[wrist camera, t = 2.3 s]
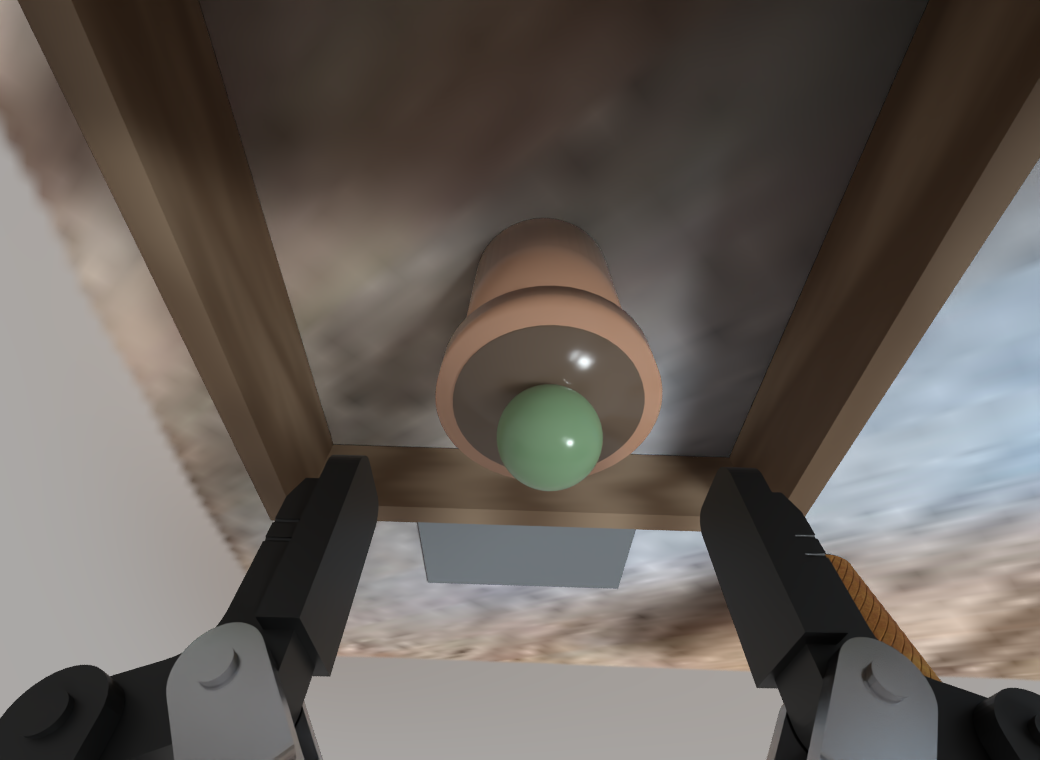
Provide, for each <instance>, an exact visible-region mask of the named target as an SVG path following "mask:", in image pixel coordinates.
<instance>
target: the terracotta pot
mask: <svg viewBox="0 0 1040 760" xmlns="http://www.w3.org/2000/svg"><path fill="white" fill-rule="evenodd" d="M435 395H436V408H437V413H438V416H439V419H440V422H441V425H442V427H443V428H444V430H445V432H446V434H447V436H448V437H449V438H450V439H451V441H452V442H453V443H454V445H455V446H456V447H457V448H458V449H459V450H460V451H461V452H462V453H464V454H465V455H466V456H467V457H469V458H470V459H471V460H473V461H474V462H476V463H478V464H479V465H481V466H483V467H485V468H487V469H489V470H491V471H493V472H496V473H499V474H501V475H504V476H508V477H512V478H515V479H517V480H518V481H519V482H521V483H523V484H524V485H526V486H528V487H530V488H533V489H537V490H541V491H559V490H563V489H567V488H570V487H572V486H574V485H576V484H578V483H579V482H581V481H582V480H583V479H585V478H586V477H587V476H588V475H592V474H594V473H597V472H600V471H602V470H605V469H607V468H609V467H611V466H613V465H615V464H616V463H618V462H619V461H621V460H622V459H624V458H626V457H627V456H628V455H629V454H630V453H632V452H633V451H634V450H635V449H636V448H637V447H638V446H639V445H640V444H641V443H642V442H643V441H644V440H645V438H646V437H647V436H648V434H649V433H650V432H651V430H652V428H653V426H654V424H655V423H656V420H657V417H658V415H659V412H660V408H661V403H662V383H661V376H660V373H659V370H658V368H657V365H656V362H655V359H654V357H653V354H652V352H651V349H650V346H649V344H648V341H647V339H646V337H645V335H644V333H643V332H642V330H641V328H640V327H639V326H638V325H637V323H636V322H635V321H634V319H633V318H632V317H630V316H629V315H628V314H627V313H626V312H625V311H624V310H623V309H622V308H621V305H620V302H619V299H618V296H617V293H616V290H615V287H614V284H613V281H612V278H611V275H610V272H609V269H608V266H607V263H606V260H605V257H604V255H603V253H602V251H601V249H600V247H599V246H598V245H597V243H596V242H595V241H594V240H593V239H592V238H591V237H590V236H589V235H588V234H587V233H586V232H584V231H583V230H582V229H580V228H578V227H577V226H575V225H573V224H570V223H568V222H565V221H561V220H557V219H550V218H536V219H530V220H526V221H522V222H519V223H517V224H514V225H512V226H510V227H508V228H507V229H505V230H504V231H502V232H501V233H500V234H498V235H497V236H496V237H495V238H494V239H493V240H492V241H491V242H490V243H489V245H488V246H487V248H486V249H485V251H484V252H483V254H482V256H481V258H480V261H479V264H478V268H477V272H476V277H475V281H474V286H473V290H472V295H471V299H470V304H469V308H468V313H467V317H466V319H465V320H464V321H463V322H462V323H461V324H460V325H459V326H458V328H457V329H456V331H455V332H454V333H453V335H452V337H451V339H450V341H449V343H448V345H447V348H446V351H445V354H444V357H443V361H442V364H441V368H440V372H439V376H438V379H437V385H436V392H435Z"/></svg>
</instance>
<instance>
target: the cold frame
mask: <svg viewBox="0 0 1040 760" xmlns="http://www.w3.org/2000/svg"><path fill="white" fill-rule="evenodd" d="M18 2H19V4H20V6H21V8H22V10H23V12H24V14H25V16H26V18H27V20H28V22H29V25H30V27H31V29H32V31H33V33H34V35H35V37H36V39H37V41H38V43H39V45H40V47H41V49H42V51H43V53H44V55H45V57H46V59H47V61H48V64H49V66H50V68H51V70H52V72H53V74H54V76H55V78H56V80H57V82H58V84H59V86H60V88H61V90H62V92H63V94H64V96H65V98H66V100H67V103H68V105H69V107H70V109H71V111H72V113H73V115H74V117H75V119H76V121H77V123H78V125H79V127H80V129H81V131H82V133H83V135H84V137H85V139H86V142H87V144H88V146H89V148H90V150H91V152H92V154H93V156H94V158H95V160H96V162H97V164H98V166H99V168H100V170H101V172H102V174H103V176H104V178H105V181H106V183H107V185H108V187H109V189H110V191H111V193H112V195H113V197H114V199H115V201H116V203H117V205H118V207H119V209H120V211H121V213H122V215H123V217H124V220H125V222H126V224H127V226H128V228H129V230H130V232H131V234H132V236H133V238H134V240H135V242H136V244H137V246H138V248H139V250H140V252H141V254H142V257H143V259H144V261H145V263H146V265H147V267H148V269H149V271H150V273H151V275H152V277H153V279H154V281H155V283H156V285H157V287H158V289H159V291H160V293H161V296H162V298H163V300H164V302H165V304H166V306H167V308H168V310H169V312H170V314H171V316H172V318H173V320H174V322H175V324H176V326H177V328H178V330H179V332H180V335H181V337H182V339H183V341H184V343H185V345H186V347H187V349H188V351H189V353H190V355H191V357H192V359H193V361H194V363H195V365H196V367H197V369H198V371H199V374H200V376H201V378H202V380H203V382H204V384H205V386H206V388H207V390H208V392H209V394H210V396H211V398H212V400H213V402H214V404H215V406H216V408H217V410H218V413H219V415H220V417H221V419H222V421H223V423H224V425H225V427H226V429H227V431H228V433H229V435H230V437H231V439H232V441H233V443H234V445H235V447H236V449H237V452H238V454H239V456H240V458H241V460H242V462H243V464H244V466H245V468H246V470H247V472H248V474H249V476H250V478H251V480H252V482H253V484H254V486H255V488H256V491H257V493H258V495H259V497H260V499H261V501H262V503H263V505H264V507H265V509H266V511H267V513H268V515H269V517H270V519H271V520H275V517H276V515H277V513H278V512H279V510H280V508H281V506H282V504H283V502H284V500H285V498H286V496H287V495H288V494H289V493H290V492H291V491H292V490H293V489H294V488H295V487H296V486H298V485H299V484H300V483H301V482H302V481H303V480H304V479H305V478H319V477H320V475H321V473H322V471H323V469H324V467H325V464H326V462H327V460H328V459H329V457H330V456H331V455H366V456H367V457H368V458H369V461H370V466H371V470H372V474H373V478H374V483H375V487H376V491H377V495H378V504H379V507H378V518H377V521H394V522H425V523H456V524H487V525H518V526H549V527H581V528H612V529H643V530H674V531H701V527H700V511H701V508H702V505H703V503H704V500H705V498H706V496H707V493H708V491H709V489H710V486H711V484H712V482H713V479H714V477H715V475H716V473H717V471H718V469H719V468H721V467H739V468H756V469H758V470H759V471H760V472H761V473H762V475H763V477H764V479H765V480H766V482H767V484H768V486H769V488H770V490H771V491H772V492H781V493H782V494H783V495H785V496H786V497H787V498H788V499H789V500H790V501H791V502H792V503H793V504H794V505H795V506H796V507H797V508H798V509H799V510H800V511H801V512H802V513H803V515H804V517H805V516H806V514H807V513H808V511H809V510H810V508H811V507H812V505H813V503H814V502H815V500H816V499H817V497H818V496H819V494H820V493H821V491H822V490H823V488H824V487H825V485H826V484H827V482H828V481H829V479H830V477H831V476H832V474H833V473H834V471H835V470H836V468H837V467H838V465H839V464H840V462H841V461H842V459H843V458H844V456H845V455H846V453H847V451H848V450H849V448H850V447H851V445H852V444H853V442H854V441H855V439H856V438H857V436H858V435H859V433H860V432H861V430H862V429H863V427H864V426H865V424H866V422H867V421H868V419H869V418H870V416H871V415H872V413H873V412H874V410H875V409H876V407H877V406H878V404H879V403H880V401H881V400H882V398H883V396H884V395H885V393H886V392H887V390H888V389H889V387H890V386H891V384H892V383H893V381H894V380H895V378H896V377H897V375H898V374H899V372H900V370H901V369H902V367H903V366H904V364H905V363H906V361H907V360H908V358H909V357H910V355H911V354H912V352H913V351H914V349H915V348H916V346H917V344H918V343H919V341H920V340H921V338H922V337H923V335H924V334H925V332H926V331H927V329H928V328H929V326H930V325H931V323H932V322H933V320H934V318H935V317H936V315H937V314H938V312H939V311H940V309H941V308H942V306H943V305H944V303H945V302H946V300H947V299H948V297H949V296H950V294H951V292H952V291H953V289H954V288H955V286H956V285H957V283H958V282H959V280H960V279H961V277H962V276H963V274H964V273H965V271H966V270H967V268H968V267H969V265H970V263H971V262H972V260H973V259H974V257H975V256H976V254H977V253H978V251H979V250H980V248H981V247H982V245H983V244H984V242H985V241H986V239H987V237H988V236H989V234H990V233H991V231H992V230H993V228H994V227H995V225H996V224H997V222H998V221H999V219H1000V218H1001V216H1002V215H1003V213H1004V211H1005V210H1006V208H1007V207H1008V205H1009V204H1010V202H1011V201H1012V199H1013V198H1014V196H1015V195H1016V193H1017V192H1018V190H1019V189H1020V187H1021V185H1022V184H1023V182H1024V181H1025V179H1026V178H1027V176H1028V175H1029V173H1030V172H1031V170H1032V169H1033V167H1034V166H1035V164H1036V163H1037V161H1038V159H1039V158H1040V0H929V2H928V4H927V6H926V9H925V11H924V13H923V16H922V18H921V20H920V22H919V25H918V27H917V29H916V32H915V34H914V36H913V38H912V41H911V43H910V45H909V48H908V50H907V52H906V54H905V57H904V59H903V61H902V64H901V66H900V68H899V70H898V73H897V75H896V77H895V80H894V82H893V84H892V86H891V89H890V91H889V93H888V96H887V98H886V100H885V102H884V105H883V107H882V109H881V112H880V114H879V116H878V118H877V121H876V123H875V125H874V128H873V130H872V132H871V134H870V137H869V139H868V141H867V144H866V146H865V148H864V150H863V153H862V155H861V157H860V160H859V162H858V164H857V166H856V169H855V171H854V173H853V176H852V178H851V180H850V182H849V185H848V187H847V189H846V192H845V194H844V196H843V198H842V201H841V203H840V205H839V208H838V210H837V212H836V214H835V217H834V219H833V221H832V224H831V226H830V228H829V230H828V233H827V235H826V237H825V240H824V242H823V244H822V246H821V249H820V251H819V253H818V256H817V258H816V260H815V262H814V265H813V267H812V269H811V272H810V274H809V276H808V278H807V281H806V283H805V285H804V288H803V290H802V292H801V294H800V297H799V299H798V301H797V304H796V306H795V308H794V310H793V313H792V315H791V317H790V320H789V322H788V324H787V326H786V329H785V331H784V333H783V336H782V338H781V340H780V342H779V345H778V347H777V349H776V352H775V354H774V356H773V358H772V361H771V363H770V365H769V368H768V370H767V372H766V374H765V377H764V379H763V381H762V384H761V386H760V388H759V390H758V393H757V395H756V397H755V400H754V402H753V404H752V406H751V409H750V411H749V413H748V416H747V418H746V420H745V422H744V425H743V427H742V429H741V432H740V434H739V436H738V438H737V441H736V443H735V445H734V448H733V450H732V452H731V454H730V457H729V458H726V457H695V456H665V455H634V454H629V455H628V456H627V457H626V458H624V459H622V460H621V461H619V462H618V463H616V464H615V465H613V466H611V467H609V468H607V469H605V470H602V471H600V472H597V473H594V474H592V475H588V476H587V477H586V478H585V479H583V480H582V481H581V482H579V483H578V484H576V485H574V486H572V487H570V488H567V489H563V490H559V491H541V490H537V489H533V488H530V487H528V486H526V485H524V484H523V483H521V482H519V481H518V480H517V479H515V478H512V477H508V476H504V475H501V474H499V473H496V472H493V471H491V470H489V469H487V468H485V467H483V466H481V465H479V464H478V463H476V462H474V461H473V460H471V459H470V458H469V457H467V456H466V455H465V454H464V453H462V452H461V451H460V450H459V449H451V448H421V447H390V446H360V445H333V442H332V439H331V435H330V432H329V429H328V426H327V422H326V419H325V416H324V412H323V409H322V406H321V403H320V399H319V396H318V393H317V389H316V386H315V383H314V379H313V376H312V373H311V370H310V366H309V363H308V360H307V356H306V353H305V350H304V347H303V343H302V340H301V337H300V333H299V330H298V327H297V324H296V320H295V317H294V314H293V310H292V307H291V304H290V301H289V297H288V294H287V291H286V287H285V284H284V281H283V278H282V274H281V271H280V268H279V264H278V261H277V258H276V254H275V251H274V248H273V245H272V241H271V238H270V235H269V231H268V228H267V225H266V222H265V218H264V215H263V212H262V208H261V205H260V202H259V199H258V195H257V192H256V189H255V185H254V182H253V179H252V176H251V172H250V169H249V166H248V162H247V159H246V156H245V153H244V149H243V146H242V143H241V139H240V136H239V133H238V129H237V126H236V123H235V120H234V116H233V113H232V110H231V106H230V103H229V100H228V97H227V93H226V90H225V87H224V83H223V80H222V77H221V74H220V70H219V67H218V64H217V60H216V57H215V54H214V51H213V47H212V44H211V41H210V37H209V34H208V31H207V28H206V24H205V21H204V18H203V14H202V11H201V8H200V4H199V1H198V0H18Z"/></svg>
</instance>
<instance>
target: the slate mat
mask: <svg viewBox="0 0 1040 760" xmlns="http://www.w3.org/2000/svg"><path fill="white" fill-rule="evenodd" d="M418 526H419V532H420V538H421V543H422V549H423V555H424V561H425V567H426V572H427V578H428V583H456V584H487V585H519V586H551V587H583V588H614V589H618V587H619V583H620V580H621V577H622V573H623V570H624V567H625V563H626V560H627V557H628V553H629V550H630V547H631V543H632V540H633V537H634V534H635V530H636V529H612V528H581V527H549V526H518V525H487V524H456V523H425V522H418Z"/></svg>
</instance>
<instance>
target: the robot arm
mask: <svg viewBox="0 0 1040 760" xmlns="http://www.w3.org/2000/svg"><path fill="white" fill-rule="evenodd" d="M378 507H379V504H378V495H377V491H376V487H375V483H374V478H373V474H372V470H371V466H370V461H369V458H368V457H367V456H366V455H331V456H330V457H329V459H328V460H327V462H326V464H325V467H324V469H323V471H322V473H321V475H320V477H319V478H305V479H304V480H303V481H302V482H301V483H300V484H299V485H298V486H296V487H295V488H294V489H293V490H292V491H291V492H290V493H289V494H288V495H287V496H286V498H285V500H284V502H283V504H282V506H281V508H280V510H279V512H278V513H277V515H276V517H275V522H274V523H272V525H271V527H270V529H269V531H268V533H267V535H266V540H265V541H263V542H262V544H261V546H260V548H259V550H258V552H257V554H256V556H255V558H254V560H253V562H252V564H251V566H250V568H249V570H248V571H247V573H246V575H245V577H244V579H243V581H242V583H241V585H240V587H239V589H238V591H237V593H236V595H235V597H234V599H233V601H232V602H231V604H230V607H229V608H228V610H227V612H226V614H225V615H224V617H223V618H222V620H221V621H220V622H219V624H218V625H217V626H216V627H215V628H213V629H211V630H209V631H208V632H206V633H204V634H203V635H201V636H200V637H198V638H197V639H196V640H195V641H193V642H192V643H191V644H190V645H189V646H188V647H187V648H186V649H185V651H184V652H183V653H181V654H179V655H177V656H174V657H172V658H169V659H166V660H163V661H160V662H156V663H153V664H150V665H146V666H143V667H139V668H136V669H133V670H129V671H126V672H123V673H120V674H116V675H113V676H109V675H107V674H106V673H105V672H104V671H103V670H101V669H99V668H98V667H95V666H92V665H78V666H73V667H69V668H65V669H63V670H61V671H58V672H55V673H53V674H52V675H50V676H48V677H46V678H44V679H43V680H41V681H40V682H38V683H37V684H35V685H34V686H32V687H31V688H30V689H28V690H27V691H26V692H25V693H23V694H22V695H21V696H20V697H19V698H18V699H17V700H16V701H15V702H14V703H13V704H12V705H11V706H10V707H9V708H8V709H7V710H6V712H5V713H4V714H3V716H2V717H1V718H0V760H323V758H322V755H321V752H320V749H319V746H318V743H317V739H316V737H315V733H314V730H313V727H312V724H311V721H310V718H309V715H308V712H307V709H306V705H305V702H304V698H305V696H306V693H307V690H308V687H309V684H310V681H311V678H312V676H330V675H331V672H332V668H333V665H334V661H335V658H336V655H337V652H338V649H339V645H340V642H341V639H342V636H343V632H344V629H345V626H346V622H347V619H348V616H349V612H350V609H351V606H352V603H353V599H354V596H355V593H356V589H357V586H358V583H359V579H360V576H361V573H362V570H363V566H364V563H365V560H366V556H367V553H368V550H369V546H370V543H371V540H372V537H373V533H374V530H375V527H376V523H377V518H378ZM700 527H701V532H702V536H703V539H704V542H705V544H706V547H707V550H708V553H709V556H710V558H711V561H712V564H713V567H714V570H715V572H716V575H717V578H718V581H719V583H720V586H721V589H722V592H723V595H724V597H725V600H726V603H727V606H728V609H729V611H730V614H731V617H732V620H733V623H734V625H735V628H736V631H737V634H738V637H739V639H740V642H741V645H742V648H743V651H744V653H745V656H746V659H747V662H748V665H749V667H750V670H751V673H752V676H753V678H754V681H755V684H756V687H757V688H778V690H779V692H780V695H781V697H782V700H783V703H784V704H783V705H782V706H781V708H780V711H779V714H778V718H777V722H776V726H775V730H774V734H773V737H772V741H771V745H770V748H769V752H768V756H767V760H1040V695H1038V694H1036V693H1033V692H1031V691H1027V690H1024V689H1019V688H1007V689H1003V690H1001V691H1000V692H998V693H996V694H994V695H993V696H991V697H989V698H986V697H983V696H981V695H977V694H975V693H972V692H969V691H966V690H963V689H960V688H957V687H954V686H952V685H948V684H946V683H943V682H940V681H937V680H934V679H932V678H929V677H927V676H924V675H923V674H922V673H921V671H920V670H919V669H918V668H917V667H916V666H915V665H914V664H913V663H912V662H911V661H910V660H909V659H908V658H907V657H905V656H904V655H903V654H902V653H900V652H899V651H898V650H896V649H894V648H893V647H891V646H889V645H887V644H885V643H883V642H881V641H879V640H878V639H877V638H876V637H875V635H874V634H873V632H872V631H871V629H870V628H869V626H868V624H867V623H866V621H865V619H864V618H863V616H862V614H861V612H860V611H859V609H858V607H857V606H856V604H855V602H854V600H853V599H852V597H851V595H850V594H849V592H848V590H847V588H846V587H845V585H844V583H843V582H842V580H841V578H840V576H839V575H838V573H837V571H836V570H835V568H834V566H833V564H832V563H831V561H830V559H829V558H827V557H826V556H825V551H824V549H823V547H822V546H821V544H820V542H819V541H818V539H815V534H814V532H813V530H812V529H811V527H810V525H809V523H808V522H807V520H806V518H805V517H804V515H803V513H802V512H801V511H800V510H799V509H798V508H797V507H796V506H795V505H794V504H793V503H792V502H791V501H790V500H789V499H788V498H787V497H786V496H785V495H783V494H782V493H781V492H772V491H771V490H770V488H769V486H768V484H767V482H766V480H765V479H764V477H763V475H762V473H761V472H760V471H759V470H758V469H756V468H739V467H721V468H719V469H718V471H717V473H716V475H715V477H714V479H713V482H712V484H711V486H710V489H709V491H708V493H707V496H706V498H705V500H704V503H703V505H702V508H701V511H700Z"/></svg>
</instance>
